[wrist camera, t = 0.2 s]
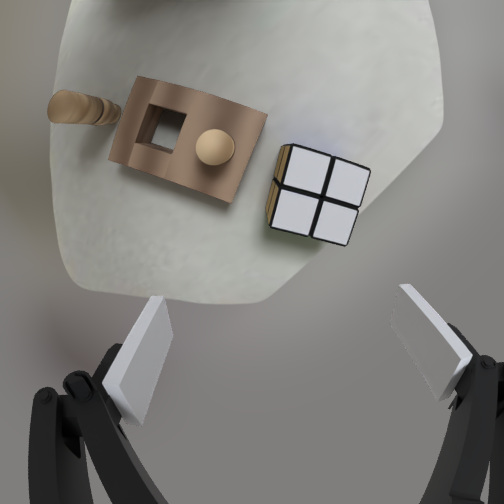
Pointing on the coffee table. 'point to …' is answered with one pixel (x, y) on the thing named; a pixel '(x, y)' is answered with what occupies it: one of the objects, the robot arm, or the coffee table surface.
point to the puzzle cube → (316, 194)
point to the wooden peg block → (188, 137)
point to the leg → (82, 109)
